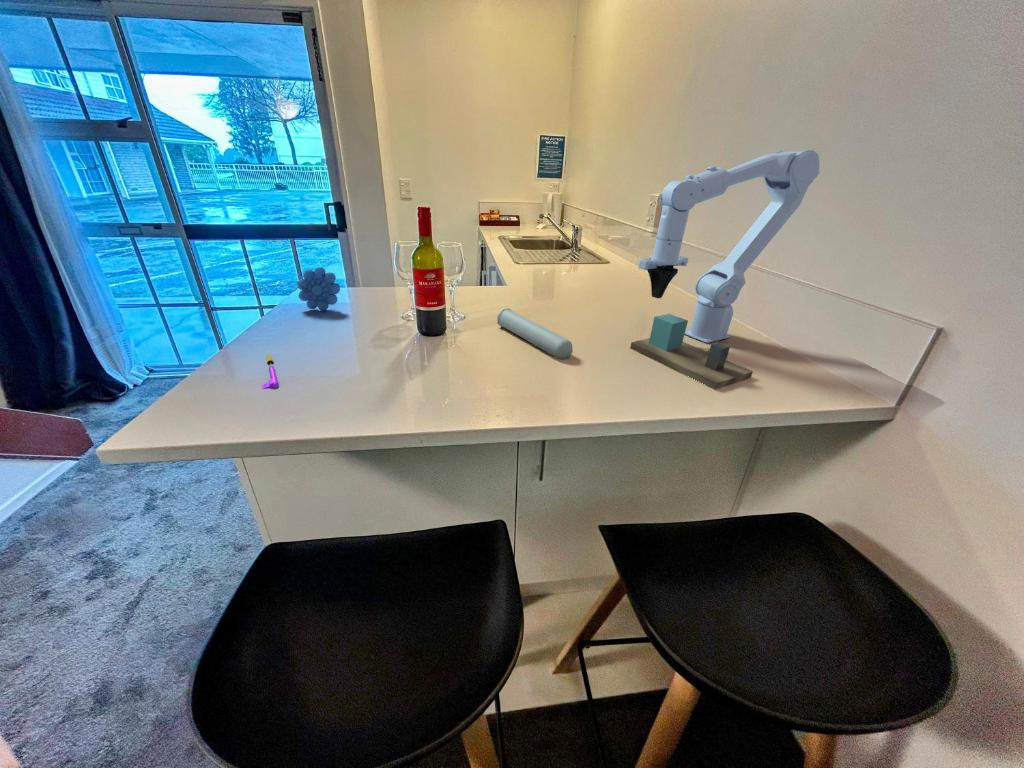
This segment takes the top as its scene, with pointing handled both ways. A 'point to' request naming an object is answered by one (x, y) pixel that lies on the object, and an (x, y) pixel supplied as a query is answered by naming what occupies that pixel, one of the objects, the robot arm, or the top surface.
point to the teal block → (668, 332)
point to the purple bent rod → (271, 376)
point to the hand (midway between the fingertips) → (656, 297)
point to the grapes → (318, 288)
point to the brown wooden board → (693, 364)
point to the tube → (535, 333)
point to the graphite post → (717, 356)
